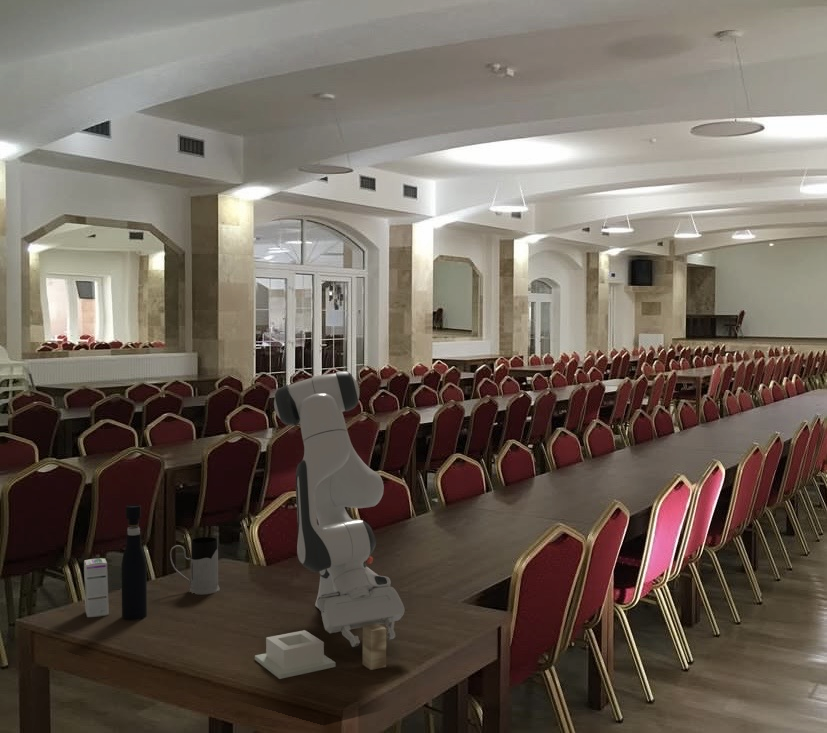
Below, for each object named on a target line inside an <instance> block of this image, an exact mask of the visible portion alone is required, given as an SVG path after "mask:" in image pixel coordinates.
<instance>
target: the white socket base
mask: <svg viewBox="0 0 827 733" xmlns="http://www.w3.org/2000/svg"><path fill="white" fill-rule="evenodd" d="M265 645H266V646H265V648H266V649H265V653H261V654H256V655H254V660H255V661H256V662H257V663H259V665H261V666H262V667H263V668H264V669H266V670H267V671H269V672H270V673H271V674H272V675H274V677H276V678H277V679H279V680H281V679H285V678H286V679H287V678H290V677H294V676H295V677H296V676H299V675H300V676H301V675H305V674H309V673H314V672H319V671H322V670H327V669H331V668H332V669H333V668H336V664H337V663H336V662H335V661H334V660H332V659H331V658H329V657H328V656H326V655H325V650H324V649H325V648H324V647H325V642H324V641H323V640H321V639H319V638H318V637H317V636H315V635H313V634H311V633H310V632H308V631H307V630H306V629H303V630H299V631H292V632H288V633H283V634H279V635H278V634H277V635H271V636H267V637H265Z"/></svg>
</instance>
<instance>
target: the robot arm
mask: <svg viewBox="0 0 827 733" xmlns="http://www.w3.org/2000/svg"><path fill="white" fill-rule="evenodd" d="M359 387H360V386H359V384H358V382H357V380H356V379H355V377H353V375H352V373H350V372H349V371H346V370H345V371H342V370H340V371H336V372H335V373H325V374H319V375H316V376H312V377H309V378H307V379H304V380H300V381H297V382H293V383H292V384H290V385H289V384H285V385H284V386H282V387H279V388H277V390H276V391H275V394H274V400H273V406H274V412H275V413H276V416H277V417H278V418H279V420H280V422H281V423H282V424H284V425H287V426H294V427H296V426H298V425H299V424H300V433H301V438H302V442H303V447H304V448H303V449H304V450H303V453H304V454H303V458H302V460H301V461H300V462H299V463H298V464H297V466H296V470H295V471H296V472H295V502H296V503H295V504H296V520H297V523H296V524H297V536H296V537H297V538H296V539H297V540H296V541H297V545H296V549H297V550H296V553H297V557H298V560H299V563H300V565H301V566H303V567H304V568H306V569H307V570H309V571H311V572H314V573H318V572H319V577H320V578H319V584H318V585H319V586H318V593H317V597H316V600H315V604H314V606H315V607H316V609H319V611H320V613H321V617H322V618H321V620H322V623H323V628H324V630H325V631H326V632H327V633H329V634H333V633H334V634H335V633H339V632H341V635H342V636H343V637H344V638H345V639H347V640H348V641H349V643H350V645H351V647H352V648H354V647H359V645H360V644H361V640H360V639H359V636H358V635H354V634H353V633H352V632H351V630H355V629H356V630H357V629H360V628H363V626H367V625H372V624H377V623H378V624H379V625H382V624H385V626H386V627H388V628H387V630H386V640H393V639H395V638H396V632H395V630H394V628H395V623H396V622H397V621H399V620H400V621H401V619H402V617H403V616H404V614H405V606H404V603H403V601H402V599H401V598H400V595H399V593H398V592H397V590H396V589H395V588H394V587H393V586H391V583H392V582H391V578H389V577H388V576H384V575H378V573H376V572H375V571H373V570H372V569H370V568H369V567H368V566H367V564H368V565H370V564H372V563H373V561H374V558H373V556H371V555H372V553H373V552H374V550H375V548H376V547H377V546H376V545H377V542H376V537H375V534H374V531H373V529H372V527H371V525H370V524H368V523H367V522H366V521H364V520H363V519H361V518H357V519H353V518H351V517H350V515H349V514H348V512H347V510H346V508H353V509H363V508H364V509H365V508H366V509H367V508H371V507H375V506H376V505H378V504H379V503H380V502H381V500H382V497H384V496H383V495H384V490H385V488H384V487H385V486H384V482H383V479H382V476H380V474H379V473H378V472H376V471H375V470H373V469H372V468H370V467H369V466H368V465H367V464H366V463H365V462H364V461H363V460H362V458H361V457H360V456H359V454H358V453H357V451H356V450H355V448H354V447H353V444H352V442H351V437H350V435H349V431H348V428H347V425H346V424H347V423H346V420H345V417H344V414H343V413H344V412H350V411H352V410H353V409H355V408H356V407H357V406H358V404H359V399H360V388H359ZM366 563H367V564H366Z"/></svg>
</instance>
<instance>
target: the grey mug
mask: <svg viewBox="0 0 827 733" xmlns="http://www.w3.org/2000/svg"><path fill="white" fill-rule="evenodd" d="M190 542H191V543H190V544H191V547H190V548H191V550H190V551H191V553H190V554H191V556H190V557H189V558H188V557H187V554H186V553H187V552H186V549H185V548H184V546H182V545H179V544H177V545H174V546H173V547H171V549H170V550H169V551H170V552H169V558H170V563H171V565H172V568H173V570H174V571H176V573H178V574H179V575H180V576H182V578H184V579H186V581H188V582H189V586H190V589H189V590H190V591H189V593H190V592H192V593H191V594H193V593H195V594H194V595H209V594H210V595H211V594H215V593H217V591H218V592H219V591H220V586H219V546H218V539H217V538H216V537H212V536H211V537H210V536H203V537H196V538H195V537H194V538H193V539H191V541H190ZM177 547H179V548H181V549H183V552H184V558H185V559H186V560H189V561H190V579H189V578H188V577H186V576H185V575H184V574H183V573H181V572H180V571H179V570H178V569H177V568H176V567H175V564H174V562H173V559H172V551H173V549H175V548H177Z"/></svg>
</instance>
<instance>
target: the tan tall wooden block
mask: <svg viewBox="0 0 827 733" xmlns="http://www.w3.org/2000/svg"><path fill="white" fill-rule="evenodd" d="M386 632H387V628H386V627H385V626H384V625H382V624H378V623H377V624H372V625H367V626H363V627H362V666H364V667H365V668H367V669H369V670H370V671H373V670H376V669H377V670H378V669H382V668H386V667H387V636H386Z"/></svg>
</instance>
